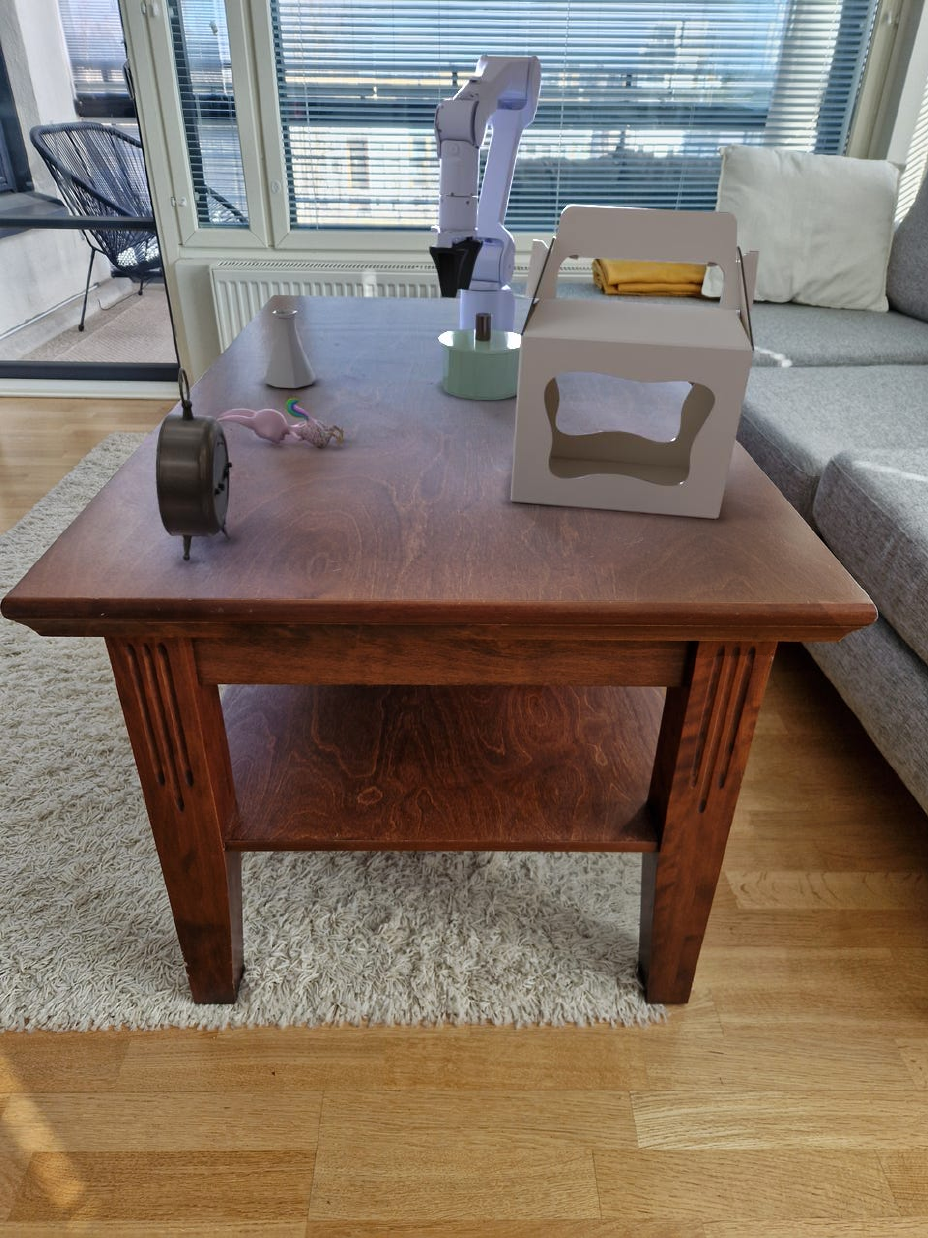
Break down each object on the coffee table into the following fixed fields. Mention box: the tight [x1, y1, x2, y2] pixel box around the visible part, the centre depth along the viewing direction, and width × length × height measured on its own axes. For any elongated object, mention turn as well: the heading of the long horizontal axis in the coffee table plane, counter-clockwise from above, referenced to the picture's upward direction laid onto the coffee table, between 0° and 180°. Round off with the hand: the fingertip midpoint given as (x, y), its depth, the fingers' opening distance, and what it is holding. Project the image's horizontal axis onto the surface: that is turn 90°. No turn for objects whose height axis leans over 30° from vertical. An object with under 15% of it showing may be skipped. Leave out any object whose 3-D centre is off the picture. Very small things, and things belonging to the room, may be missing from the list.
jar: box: [442, 346, 520, 401], centre depth 120 cm, size 12×12×6 cm
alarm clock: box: [155, 367, 233, 562], centre depth 74 cm, size 11×5×16 cm, turn 5°
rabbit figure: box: [216, 397, 345, 449], centre depth 99 cm, size 6×6×15 cm
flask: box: [263, 308, 317, 389], centre depth 119 cm, size 7×7×10 cm
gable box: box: [510, 204, 760, 520], centre depth 85 cm, size 22×13×28 cm, turn 82°
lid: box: [438, 313, 521, 354], centre depth 118 cm, size 13×13×4 cm
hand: (455, 293), depth 129 cm, fingers open, 7 cm apart
